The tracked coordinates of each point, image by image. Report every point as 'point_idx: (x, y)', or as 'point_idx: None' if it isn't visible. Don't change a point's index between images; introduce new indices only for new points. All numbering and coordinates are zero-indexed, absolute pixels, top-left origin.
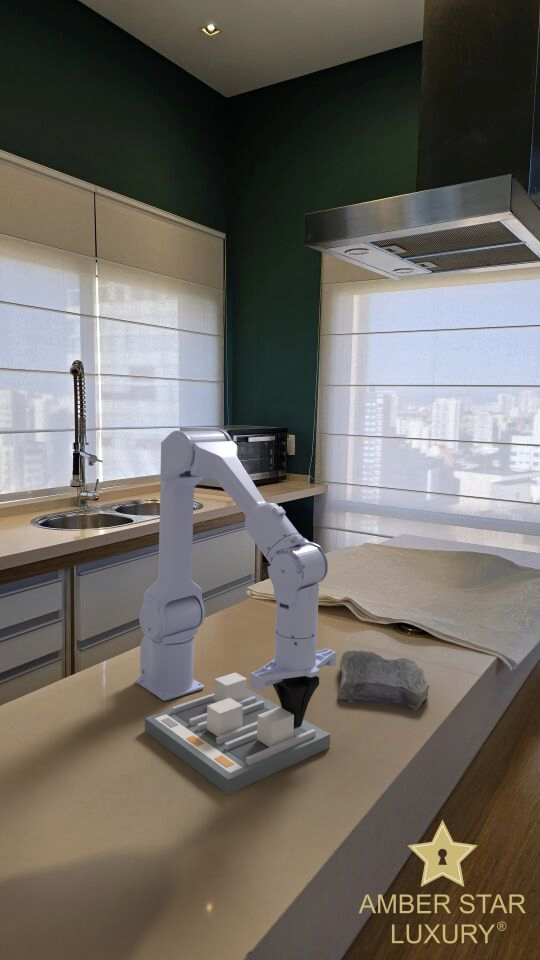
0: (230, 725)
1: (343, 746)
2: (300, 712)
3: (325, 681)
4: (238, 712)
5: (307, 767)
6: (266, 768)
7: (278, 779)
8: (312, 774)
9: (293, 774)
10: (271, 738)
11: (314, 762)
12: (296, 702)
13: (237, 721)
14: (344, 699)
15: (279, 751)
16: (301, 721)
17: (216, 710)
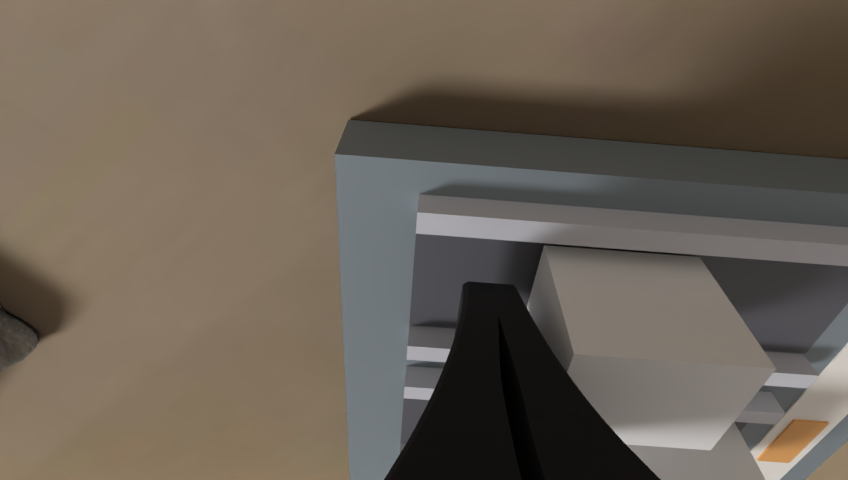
0: None
1: (275, 77)
2: (512, 348)
3: (23, 421)
4: None
5: (589, 74)
6: (818, 175)
7: (778, 102)
8: (636, 5)
9: (694, 80)
10: (724, 295)
11: (522, 81)
12: (599, 433)
13: (653, 447)
14: (13, 321)
15: (694, 217)
16: (476, 299)
17: None
